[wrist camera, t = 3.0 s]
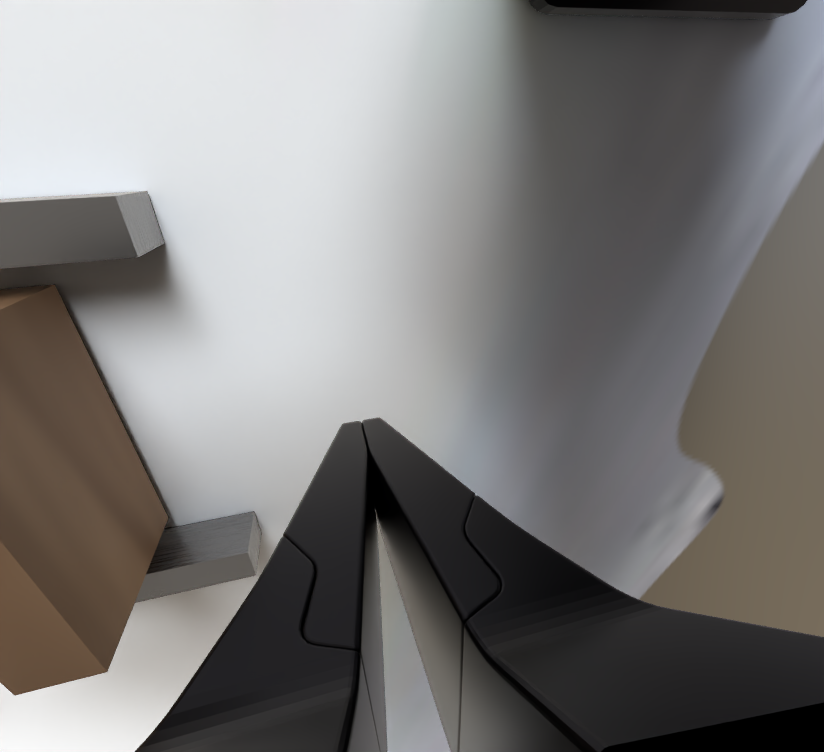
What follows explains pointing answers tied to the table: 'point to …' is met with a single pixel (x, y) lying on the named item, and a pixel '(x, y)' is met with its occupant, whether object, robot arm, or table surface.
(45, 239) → the track
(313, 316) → the table surface
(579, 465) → the table surface
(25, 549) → the brown wooden block
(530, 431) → the table surface
